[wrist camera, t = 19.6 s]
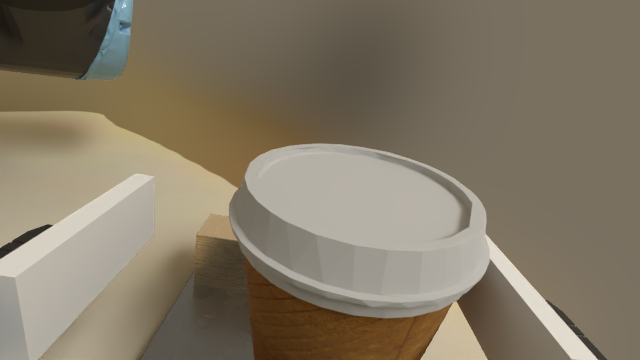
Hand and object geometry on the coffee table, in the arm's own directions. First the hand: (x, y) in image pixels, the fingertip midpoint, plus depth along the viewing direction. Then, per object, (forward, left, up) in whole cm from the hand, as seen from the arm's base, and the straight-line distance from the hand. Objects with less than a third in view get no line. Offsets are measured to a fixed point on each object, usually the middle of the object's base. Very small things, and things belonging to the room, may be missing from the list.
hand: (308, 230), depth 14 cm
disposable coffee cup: (+1, +2, -9) cm, 9 cm away
